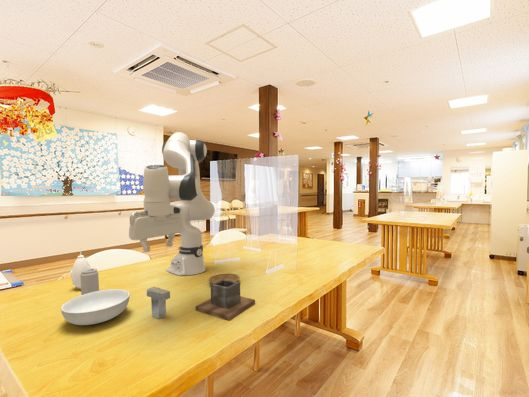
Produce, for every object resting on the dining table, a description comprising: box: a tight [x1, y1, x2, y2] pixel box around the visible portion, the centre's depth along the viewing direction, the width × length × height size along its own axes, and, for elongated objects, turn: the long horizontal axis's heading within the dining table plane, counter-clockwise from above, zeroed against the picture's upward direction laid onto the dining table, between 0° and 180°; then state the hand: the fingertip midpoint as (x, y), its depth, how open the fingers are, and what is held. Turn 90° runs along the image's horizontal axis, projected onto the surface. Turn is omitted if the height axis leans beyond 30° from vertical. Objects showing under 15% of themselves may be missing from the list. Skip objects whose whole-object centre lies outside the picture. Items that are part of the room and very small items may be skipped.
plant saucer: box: [208, 273, 240, 285], centre depth 132 cm, size 15×15×3 cm
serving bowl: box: [60, 288, 131, 326], centre depth 98 cm, size 21×21×7 cm
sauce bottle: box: [71, 249, 92, 290], centre depth 129 cm, size 8×8×18 cm
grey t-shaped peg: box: [146, 286, 171, 320], centre depth 99 cm, size 9×3×10 cm, turn 58°
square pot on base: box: [195, 279, 256, 321], centre depth 105 cm, size 16×16×9 cm
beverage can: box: [80, 268, 100, 296], centre depth 117 cm, size 6×6×12 cm
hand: (158, 248), depth 98 cm, fingers open, 8 cm apart
